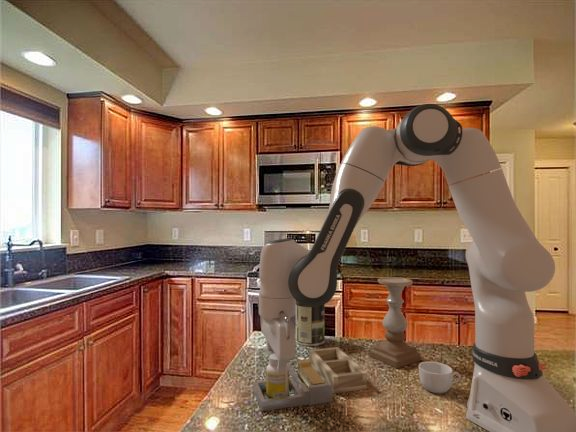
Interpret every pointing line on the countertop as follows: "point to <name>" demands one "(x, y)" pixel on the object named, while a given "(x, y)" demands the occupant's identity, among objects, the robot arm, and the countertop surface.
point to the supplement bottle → (276, 379)
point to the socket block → (300, 397)
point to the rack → (338, 370)
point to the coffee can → (309, 325)
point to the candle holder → (395, 328)
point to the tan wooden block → (308, 374)
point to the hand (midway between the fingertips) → (276, 364)
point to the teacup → (436, 376)
